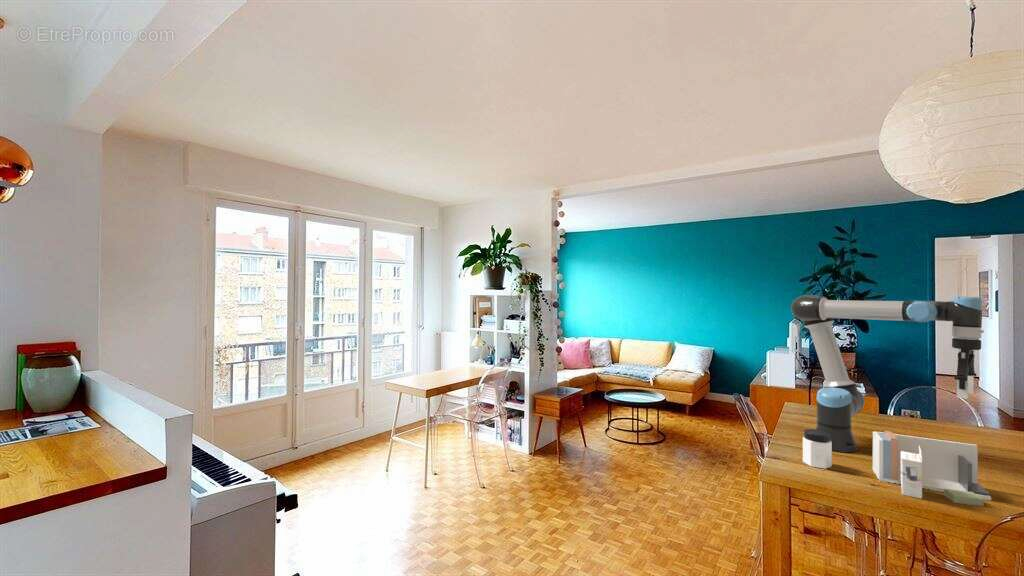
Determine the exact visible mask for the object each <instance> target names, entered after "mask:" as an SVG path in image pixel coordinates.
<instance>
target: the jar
mask: <svg viewBox="0 0 1024 576" xmlns="http://www.w3.org/2000/svg"><path fill="white" fill-rule="evenodd" d="M832 453H833V451H832V441H830V434H829V433H828V432H825V431H822V430H817V429H815V428H806V429H804V430H803V437H802V462H803V463H804V464H806V465H808V466H809V467H813V468H819V469H823V470H826V469H828V468H829V469H830V468H831V467H832V465H833V463H832V462H833V460H832V459H833V456H832V455H833V454H832Z"/></svg>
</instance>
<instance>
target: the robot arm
mask: <svg viewBox="0 0 1024 576" xmlns="http://www.w3.org/2000/svg"><path fill="white" fill-rule="evenodd" d="M790 307H791V308H790V309H791V313H792V315H793V316H794V317H795V318H797V319H798V320H800V321H802V323H803V324H802V325H803V327H804V328H806V329H807V330H809V334H810V336H811V339H812V342H813V345H814V348H815V352H816V354H817V358H818V361H819V365H820V367H821V370H822V373H823V377H824V380H825V383H824V384H823V387H822V388H820V389H818V390H817V394H816V426H815V428H814V429H817V430H822V431H825V432H828V433H829V434H830V441H832V452H838V453H840V452H841V453H854V452H857V451H858V448H857V446H858V445H857V442H856V439H855V437H854V434H853V431H852V416H854V415H857V414H859V413H860V412H861V411H862V409H863V408H864V406H865V398H864V395H863V394H862V393H861V391H859V390H858V388H857V385H856V382H855V381H853V380H852V379H850V378H849V377H850V376H849V374H848V371H847V368H846V365H845V362H844V359H843V357H842V356H843V355H842V353H841V350H840V347H839V344H838V341H837V338H836V335H835V333H834V332H835V331H834V329H833V326H832V325H833V324H834V322H835V319H849V320H871V321H872V320H874V321H875V320H877V321H901V322H902V321H903V322H917V323H928V322H930V321H938V322H952V325H951V336H952V337H953V338H951V348H953V349H958V350H959V349H960V351H959V352H958V353H957V368H956V369H957V370H956V375H955V376H954V380H956V398H958V399H964V400H968V398H969V394H972V395H973V394H974V385H975V384H974V378H975V377H977V373H976V371H975V351H980V350H982V340H981V338H982V334H983V333H985V330H983V329H982V325H983V324H982V323H983V322H982V321H983V302H982V299H981V298H980V297H979V296H954V297H953V298H952V300H951V301H941V300H940V301H939V300H936V301H935V300H909V301H908V300H906V301H905V300H902V301H901V300H851V299H850V300H849V299H848V300H844V299H843V300H841V299H839V300H837V299H828V298H827V297H825V296H823V295H819V294H809V295H808V294H806V295H805V294H804V295H801V296H798V297H796V298H795V299H794V300H793V302H791V306H790Z"/></svg>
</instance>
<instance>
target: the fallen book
mask: <svg viewBox="0 0 1024 576" xmlns="http://www.w3.org/2000/svg"><path fill="white" fill-rule="evenodd" d="M943 496H944V497H946V498H947V499H948V500H950V501H952V502H953V503H956V504H964V505H972V506H978V507H979V506H980V507H984V503H985V502H984V500H985V499H983V498H981V497H979V496H978V495H976V494H975V493H973V492H969V491H960V490H951V489H944V492H943Z"/></svg>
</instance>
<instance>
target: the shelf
mask: <svg viewBox="0 0 1024 576" xmlns="http://www.w3.org/2000/svg"><path fill="white" fill-rule="evenodd" d="M919 446H920V449H921V452H922V489H923V488H924V489H923V490H928V489H929V490H930V491H935V492H939V493H944V489H951V490H960V491H967V490H966V489H965V488H964V487H963V486H962V485H961V484H960V483H959V482H958V455H961V456H963V457H965V458H966V459H967V460H968V461H969V462H970V463H972V483H977V484H979V482H978V481H979V480H978V464H979V463H978V460H979V459H978V456H979V455H978V454H979V453H978V452H979V451H978V449H979V448H978V447H979V446H978V445H977V444H973V443H966V442H958V441H950V440H944V439H936V438H927V437H920V436H913V435H904V434H897V433H893V432H892V431H890V430H884V432H883V431H882V432H881V431H874V430H873V431H872V471H873V473H874V475H875V474H876V475H875V476H876V477H877V480H878V479H879V480H878V481H879V482H883V481H884V482H883V483H888V482H890V483H889V484H894V483H896V484H895V485H900V484H901V451H904V452H909V453H914V454H919ZM973 493H974V492H973ZM975 494H976V495H978V496H979V497H981V498H983V499H984V500H986V501H992V496H991V495H985V494H980V493H975Z"/></svg>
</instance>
